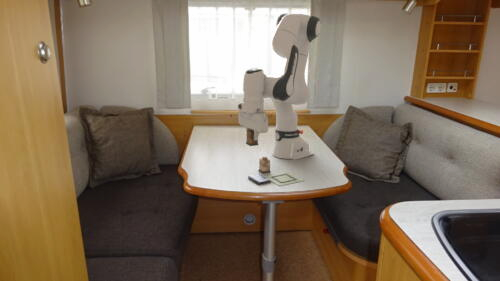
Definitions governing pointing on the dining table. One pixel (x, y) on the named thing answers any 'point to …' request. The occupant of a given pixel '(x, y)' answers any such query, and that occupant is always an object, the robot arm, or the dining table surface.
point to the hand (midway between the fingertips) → (252, 138)
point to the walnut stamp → (251, 138)
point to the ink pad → (259, 179)
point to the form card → (284, 178)
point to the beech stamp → (264, 165)
